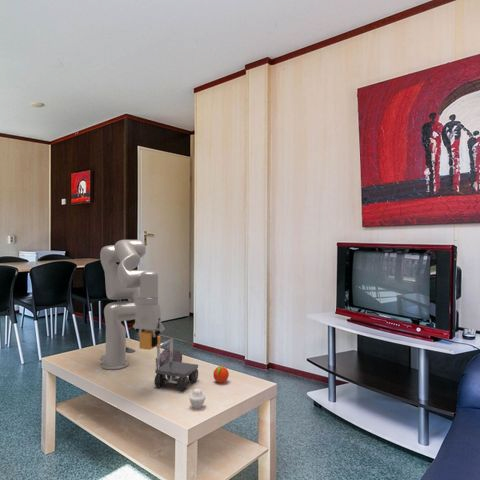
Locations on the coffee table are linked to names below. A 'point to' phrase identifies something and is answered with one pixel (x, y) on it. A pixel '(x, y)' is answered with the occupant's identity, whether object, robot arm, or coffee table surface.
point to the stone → (166, 356)
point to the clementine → (221, 374)
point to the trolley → (174, 371)
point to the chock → (147, 340)
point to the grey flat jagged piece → (129, 350)
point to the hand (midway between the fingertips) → (148, 344)
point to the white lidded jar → (197, 398)
